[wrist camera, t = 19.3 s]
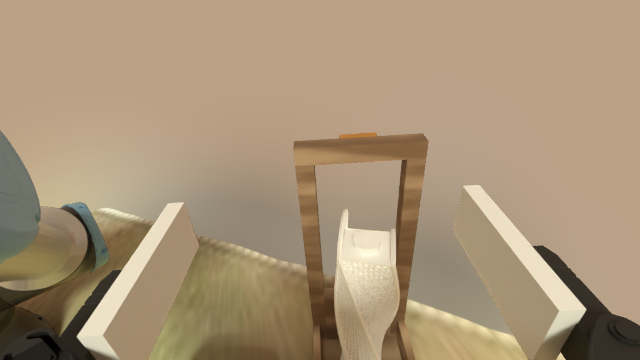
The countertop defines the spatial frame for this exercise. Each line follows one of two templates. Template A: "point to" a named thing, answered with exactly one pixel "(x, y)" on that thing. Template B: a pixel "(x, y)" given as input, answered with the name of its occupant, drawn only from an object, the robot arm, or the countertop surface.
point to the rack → (413, 155)
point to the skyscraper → (364, 290)
